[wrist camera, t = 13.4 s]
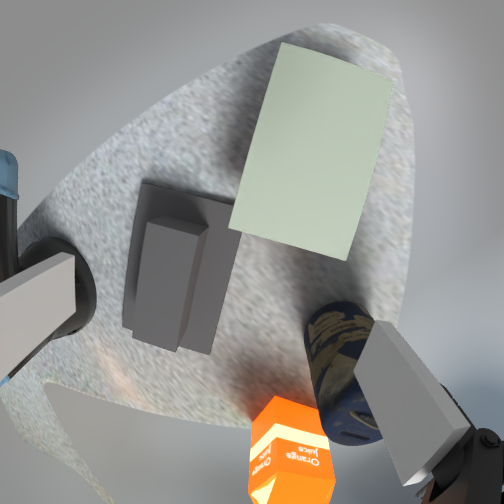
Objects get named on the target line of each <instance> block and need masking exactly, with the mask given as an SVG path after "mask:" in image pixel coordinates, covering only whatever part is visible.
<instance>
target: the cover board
mask: <svg viewBox="0 0 504 504" xmlns="http://www.w3.org/2000/svg"><path fill="white" fill-rule="evenodd" d="M393 83H394V82H393V81H391V80H389V79H387V78H385V77H382V76H380V75H378V74H376V73H373V72H371V71H369V70H366V69H364V68H361V67H359V66H356V65H353V64H351V63H348V62H345V61H343V60H340V59H337V58H334V57H331V56H328V55H325V54H322V53H319V52H316V51H312V50H309V49H306V48H302V47H299V46H295V45H291V44H287V43H283V42H281V46H280V49H279V52H278V55H277V58H276V61H275V65H274V68H273V71H272V74H271V78H270V81H269V84H268V87H267V91H266V94H265V97H264V101H263V104H262V107H261V111H260V114H259V118H258V121H257V125H256V128H255V131H254V135H253V138H252V142H251V145H250V149H249V153H248V156H247V160H246V163H245V167H244V170H243V174H242V178H241V181H240V185H239V189H238V192H237V196H236V200H235V204H234V207H233V211H232V215H231V219H230V223H229V226H228V228H230V229H234V230H238V231H241V232H245V233H249V234H252V235H256V236H259V237H263V238H267V239H270V240H274V241H277V242H281V243H284V244H288V245H292V246H295V247H299V248H302V249H306V250H309V251H313V252H316V253H320V254H323V255H327V256H330V257H333V258H337V259H340V260H344V261H346V259H347V256H348V253H349V250H350V247H351V244H352V241H353V238H354V235H355V232H356V229H357V226H358V223H359V220H360V216H361V213H362V210H363V207H364V203H365V200H366V197H367V193H368V190H369V186H370V183H371V179H372V175H373V172H374V168H375V164H376V160H377V156H378V152H379V148H380V144H381V140H382V136H383V132H384V127H385V123H386V118H387V113H388V109H389V104H390V99H391V94H392V88H393Z"/></svg>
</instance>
